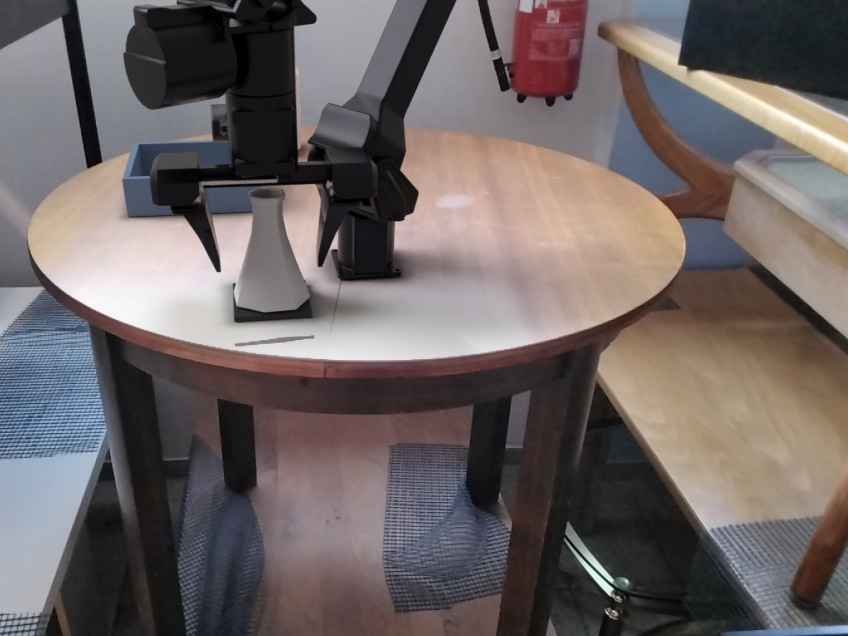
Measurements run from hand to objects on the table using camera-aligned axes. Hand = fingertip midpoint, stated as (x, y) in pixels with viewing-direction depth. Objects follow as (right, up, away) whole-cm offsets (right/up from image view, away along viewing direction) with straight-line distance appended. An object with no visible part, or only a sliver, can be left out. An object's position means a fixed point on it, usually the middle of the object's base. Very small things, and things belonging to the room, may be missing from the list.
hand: (269, 268), depth 72 cm
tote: (-12, +13, +27) cm, 32 cm away
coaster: (0, -3, +2) cm, 4 cm away
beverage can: (-4, +23, +42) cm, 48 cm away
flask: (0, -3, +2) cm, 3 cm away
